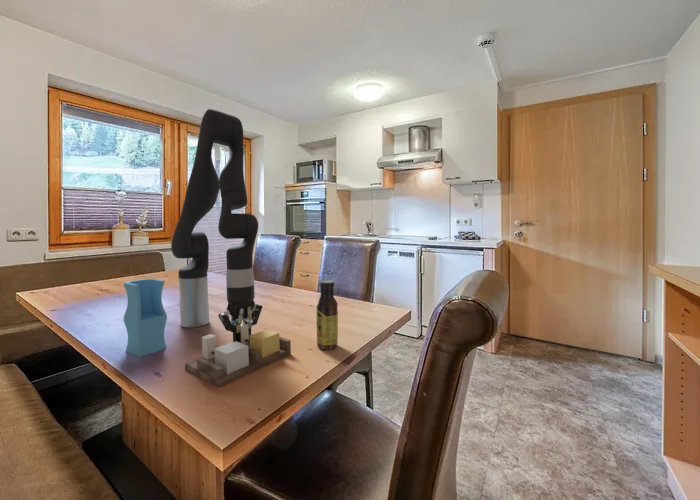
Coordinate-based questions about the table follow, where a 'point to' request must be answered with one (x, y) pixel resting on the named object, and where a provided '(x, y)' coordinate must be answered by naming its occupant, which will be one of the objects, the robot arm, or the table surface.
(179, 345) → the table surface
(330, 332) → the sauce bottle
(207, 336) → the white block with handle
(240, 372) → the lane rack
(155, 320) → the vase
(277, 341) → the ochre block
